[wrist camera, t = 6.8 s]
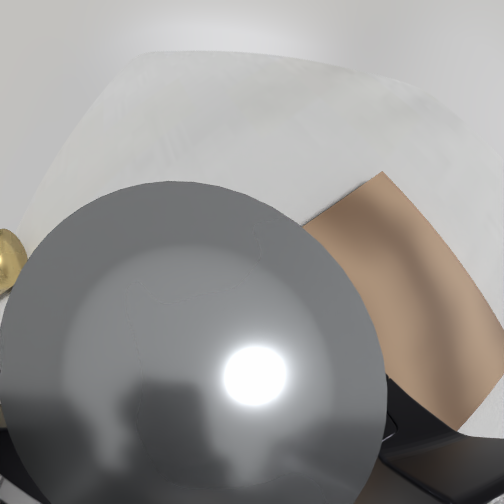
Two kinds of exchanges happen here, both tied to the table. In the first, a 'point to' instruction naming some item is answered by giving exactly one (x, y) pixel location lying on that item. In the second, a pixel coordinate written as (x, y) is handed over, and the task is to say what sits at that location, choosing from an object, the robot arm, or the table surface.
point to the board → (415, 299)
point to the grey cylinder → (190, 357)
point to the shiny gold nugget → (10, 259)
